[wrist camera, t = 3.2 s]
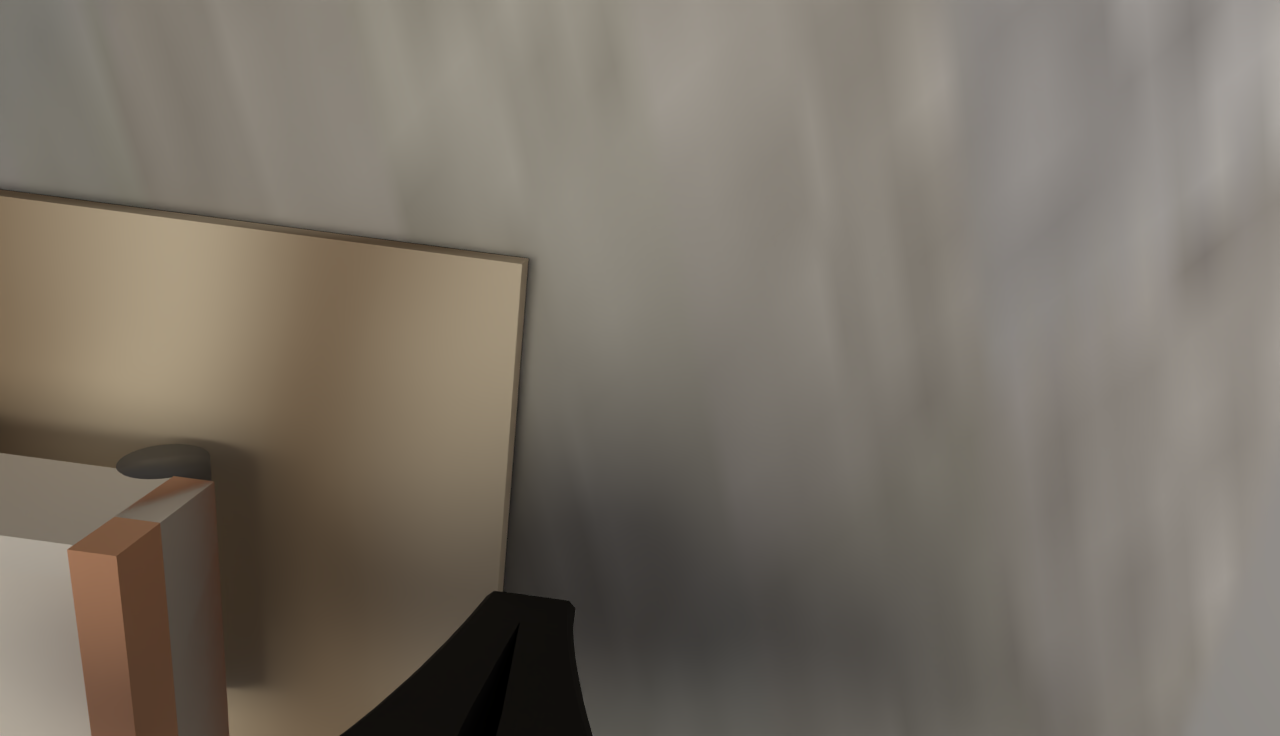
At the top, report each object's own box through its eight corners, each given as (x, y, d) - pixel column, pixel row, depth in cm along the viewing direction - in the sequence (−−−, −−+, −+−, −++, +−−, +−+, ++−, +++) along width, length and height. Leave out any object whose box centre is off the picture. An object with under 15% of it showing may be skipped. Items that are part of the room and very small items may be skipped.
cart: (251, 452, 12) (116, 556, 9) (262, 707, 13) (149, 864, 11) (-122, 403, 12) (-376, 490, 9) (-70, 662, 13) (-270, 806, 11)
